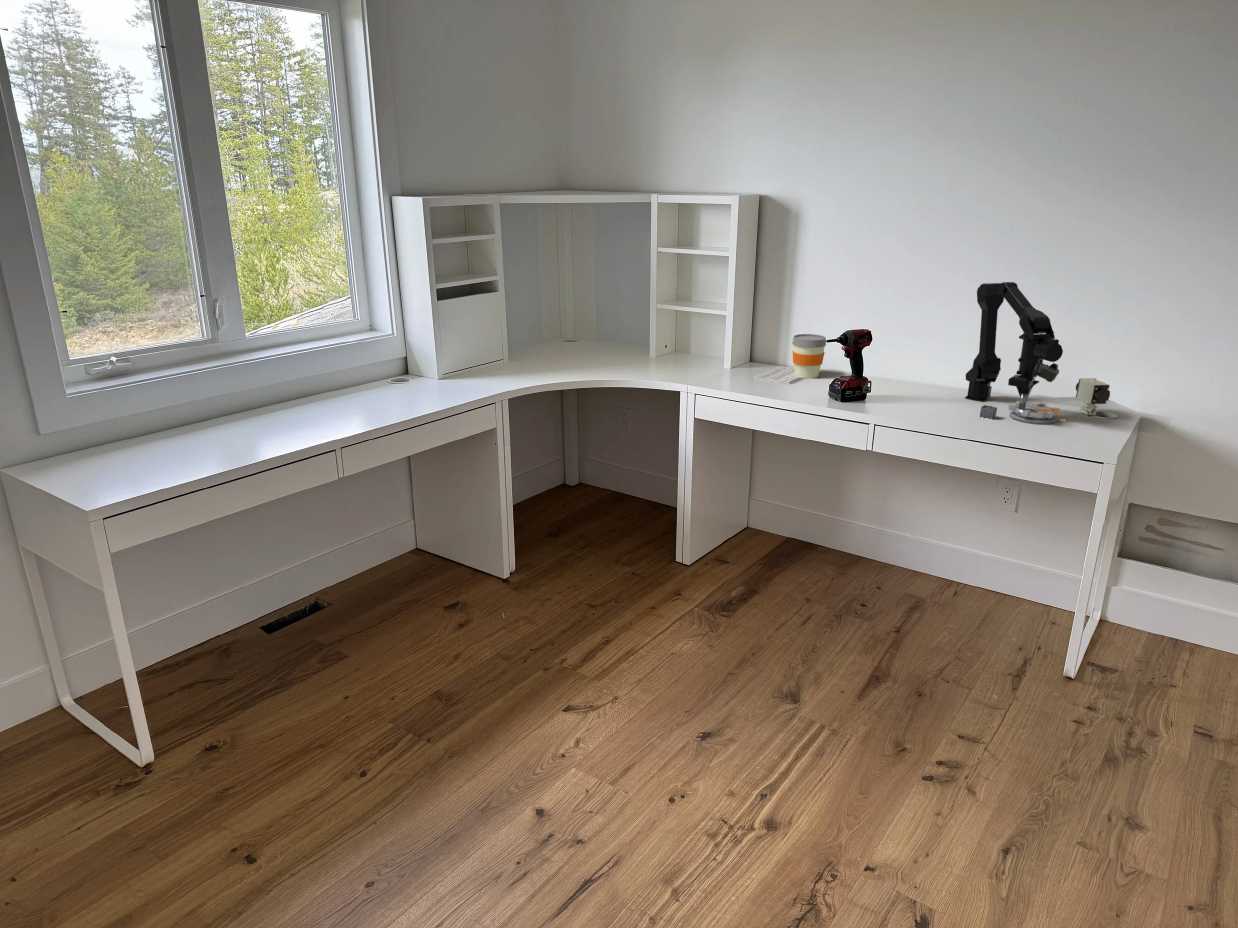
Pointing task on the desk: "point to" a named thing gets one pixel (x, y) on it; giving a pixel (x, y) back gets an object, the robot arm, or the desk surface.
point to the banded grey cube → (988, 412)
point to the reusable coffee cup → (808, 354)
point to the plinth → (1034, 421)
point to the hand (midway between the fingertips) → (1023, 402)
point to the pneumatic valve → (1092, 394)
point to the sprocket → (1033, 409)
